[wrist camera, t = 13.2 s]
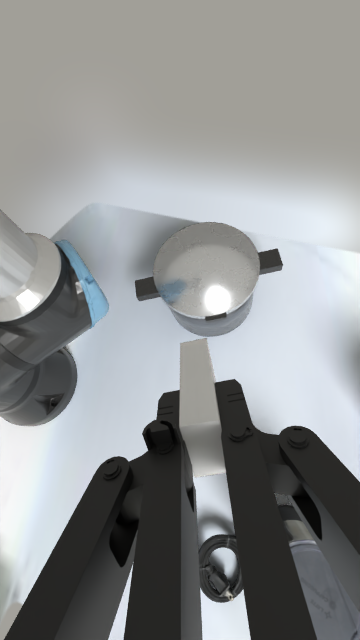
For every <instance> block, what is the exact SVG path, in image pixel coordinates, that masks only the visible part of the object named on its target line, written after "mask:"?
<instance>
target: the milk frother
mask: <svg viewBox="0 0 360 640" xmlns="http://www.w3.org/2000/svg"><path fill="white" fill-rule="evenodd" d="M278 508H279V512H280V515H281V518H282V522H283V525H284V528H285V532H286V535H287V539H288V542H289V545H290V549H291V552H292V556H293V559H294V562H295V566H296V569H297V572H298V576H299V579H300V583H301V586H302V589H303V593H304V596H305V600H306V603H307V606H308V610H309V613H310V616H311V620H312V623H313V627H314V630H315V633H316V637H317V640H360V613H359V612H358V610H357V608H356V607H355V605H354V603H353V602H352V600H351V599H350V597H349V595H348V594H347V592H346V591H345V589H344V587H343V586H342V584H341V583H340V581H339V579H338V578H337V576H336V575H335V573H334V571H333V570H332V568H331V566H330V565H329V563H328V562H327V560H326V558H325V557H324V555H323V554H322V552H321V550H320V549H319V547H318V546H317V544H316V542H315V541H314V539H313V537H312V536H311V534H310V533H309V531H308V529H307V528H306V526H305V525H304V523H303V521H302V520H301V518H300V517H299V515H298V513H297V512H296V510H295V509H294V507H292V506H288V505H279V506H278ZM222 547H225V548H229V549H231V550H232V551H233V552H234V553H235V554H236V556H237V559H238V564H239V572H238V577H237V580H236V582H235V584H234V585H233V587H232V588H231V589H229V587H230V584H229V582H228V579H227V577H226V575H225V574H221V573H220V572H219V571H218V570H216V568H215V566H211V564H210V563H209V561H208V559H209V556H210V554H211V553H212V552H213V551H214V550H215V549H218V548H222ZM198 554H199V576H200V588H201V590H202V591H203V593H204V594H205V595H206V596H207V597H208V598H209V599H211V600H212V601H215V602H220V603H222V602H228V601H233V600H234V598H235V597H237V596H238V594H240V592H241V591H242V590H243V582H242V576H241V569H240V562H239V555H238V549H237V542H236V536H235V535H224V534H220V535H215V536H212V537H210V538H209V539H207V540H206V541H205V542H204V543H203V544H202V546H201V548H200V549H199V552H198ZM207 576H208V577H207ZM208 579H209V580H210V581H212V582H213V584H214V586H215V588H216V589H214V588H213V587H212V586H211V585H210V583H209V581H208Z"/></svg>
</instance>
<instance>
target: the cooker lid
mask: <svg viewBox="0 0 360 640" xmlns="http://www.w3.org/2000/svg"><path fill="white" fill-rule="evenodd" d="M259 271H260V260H259V256H258V252H257V250H256V248H255V246H254V244H253V243H252V241H251V240H250V239H249V238H248V237H247V236H246V235H245V234H244V233H243V232H241V231H240V230H238V229H236V228H234V227H232V226H229V225H226V224H223V223H216V222H204V223H198V224H194V225H190V226H188V227H185V228H183V229H181V230H179V231H178V232H176V233H175V234H173V235H172V236H171V237H170V238H169V239H167V241H166V242H165V243H164V244H163V245H162V247H161V248H160V250H159V252H158V254H157V256H156V259H155V262H154V268H153V277H154V282H155V286H156V288H157V290H158V292H159V294H160V296H161V298H162V299H163V300H164V302H165V303H166V304H167V305H168V306H169V307H170V308H172V309H173V310H174V311H176V312H178V313H180V314H182V315H185V316H187V317H191V318H197V319H206V323H210V322H215V321H219V320H224V319H227V314H229V313H231V312H233V311H234V310H236V309H237V308H239V307H240V306H242V305H243V304H244V303H245V302H246V301H247V300H248V298H249V297H250V296H251V295H252V293H253V291H254V289H255V287H256V285H257V282H258V278H259Z"/></svg>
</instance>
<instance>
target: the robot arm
mask: <svg viewBox="0 0 360 640" xmlns="http://www.w3.org/2000/svg"><path fill="white" fill-rule="evenodd" d="M108 310H109V304H108V301H107V299H106V297H105V295H104V294H103V292H102V290H101V289H100V287H99V286H98V284H97V282H96V281H95V279H94V278H93V277H92V275H91V273H90V272H89V270H88V268H87V267H86V265H85V264H84V262H83V261H82V259H81V258H80V256H79V255H78V253H77V252H76V250H75V249H74V248H73V246H72V245H71V244H70V242H69V241H67V240H61V241H57V242H56V243H53V242H52V241H51V240H49V239H48V238H47V237H45V236H43V235H40V234H35V233H24V232H23V231H22V230H21V229H20V228H19V227H17V225H16V224H15V223H14V222H13V221H12V220H11V219H10V218H9V217H7V216H6V214H4V213H3V212H2V211H1V210H0V417H2V418H4V419H5V420H6V421H8V422H10V423H12V424H16V425H20V426H37V425H41V424H44V423H47V422H49V421H51V420H52V419H54V418H55V417H57V416H58V415H59V414H60V413H61V412H62V411H63V410H64V409H65V408H66V406H67V405H68V403H69V402H70V400H71V398H72V396H73V394H74V391H75V388H76V382H77V370H76V365H75V362H74V360H73V358H72V356H71V355H70V354H69V352H68V351H67V350H65V349H64V348H63V347H64V346H66V345H67V344H68V343H70V342H71V341H73V340H74V339H75V338H77V337H78V336H80V335H81V334H83V333H84V332H85V331H87V330H88V329H91V328H92V327H93V326H94V325H95V323H96V322H98V321H99V320H100V319H101V318H103V317H104V316H105V315H106V314H107V312H108ZM142 435H143V437H144V440H145V443H146V445H147V448H148V451H147V452H146V453H145V454H144V455H142V456H140V457H138V458H136V459H134V460H132V461H129V462H128V460H127V459H126V458H124V457H120V456H118V457H112V458H110V459H108V460H106V461H105V462H104V463H102V464H101V465H100V467H99V468H98V469H97V471H96V473H95V474H94V476H93V478H92V480H91V482H90V483H89V485H88V487H87V489H86V491H85V493H84V494H83V496H82V498H81V500H80V502H79V504H78V505H77V507H76V509H75V511H74V513H73V515H72V516H71V518H70V520H69V522H68V524H67V526H66V527H65V529H64V531H63V533H62V535H61V537H60V538H59V540H58V542H57V544H56V546H55V547H54V549H53V551H52V553H51V555H50V557H49V558H48V560H47V562H46V564H45V566H44V568H43V569H42V571H41V573H40V575H39V577H38V579H37V580H36V582H35V584H34V586H33V588H32V590H31V591H30V593H29V595H28V597H27V599H26V601H25V602H24V604H23V606H22V608H21V610H20V611H19V613H18V615H17V617H16V619H15V621H14V623H13V624H12V626H11V628H10V630H9V632H8V633H7V636H6V637H5V639H4V640H108V638H109V635H110V631H111V628H112V625H113V622H114V619H115V616H116V613H117V610H118V607H119V604H120V601H121V598H122V595H123V592H124V589H125V586H126V583H127V580H128V577H129V573H130V570H131V567H132V564H133V571H132V579H131V586H130V594H129V602H128V610H127V618H126V625H125V633H124V640H202V620H201V598H200V576H199V554H198V532H197V510H196V490H195V486H194V483H193V474H194V477H195V478H196V477H202V476H209V475H215V474H221V473H226V475H227V482H228V488H229V495H230V502H231V508H232V515H233V522H234V529H235V535H236V542H237V549H238V555H239V562H240V569H241V576H242V582H243V589H244V596H245V602H246V609H247V616H248V623H249V629H250V636H251V640H317V637H316V633H315V630H314V627H313V623H312V620H311V616H310V613H309V610H308V606H307V603H306V600H305V596H304V593H303V589H302V586H301V583H300V579H299V576H298V572H297V569H296V566H295V562H294V559H293V556H292V552H291V549H290V545H289V542H288V539H287V535H286V532H285V528H284V525H283V522H282V518H281V515H280V512H279V508H278V505H277V501H276V498H275V495H274V493H278V494H284V495H287V497H288V499H289V500H290V502H291V504H292V505H293V507H294V509H295V510H296V512H297V513H298V515H299V517H300V518H301V520H302V521H303V523H304V525H305V526H306V528H307V529H308V531H309V533H310V534H311V536H312V537H313V539H314V541H315V542H316V544H317V546H318V547H319V549H320V550H321V552H322V554H323V555H324V557H325V558H326V560H327V562H328V563H329V565H330V566H331V568H332V570H333V571H334V573H335V575H336V576H337V578H338V579H339V581H340V583H341V584H342V586H343V587H344V589H345V591H346V592H347V594H348V595H349V597H350V599H351V600H352V602H353V603H354V605H355V607H356V608H357V610H358V612H359V613H360V482H359V481H358V480H357V479H356V478H355V476H354V475H353V474H352V473H351V472H350V471H349V470H348V469H347V468H346V467H345V466H344V464H343V463H342V462H341V461H340V460H339V459H338V458H337V457H336V456H335V455H334V454H333V452H332V451H331V450H330V449H329V448H328V447H327V446H326V445H325V444H324V443H323V442H322V440H321V439H320V438H319V437H318V436H317V435H316V434H315V433H314V432H313V431H311V430H310V429H308V428H305V427H302V426H291V427H287V428H285V429H284V430H282V431H281V433H280V434H279V435H273V434H267V433H264V432H261V431H259V430H258V429H256V428H255V426H254V425H253V423H252V421H251V418H250V414H249V411H248V407H247V404H246V401H245V397H244V394H243V390H242V387H241V384H239V383H238V382H237V381H236V380H235V379H232V380H227V381H222V382H216V380H215V375H214V370H213V366H212V361H211V357H210V352H209V348H208V343H207V339H206V338H204V339H199V340H194V341H189V342H184V343H180V390H177V391H172V392H167V393H163V395H162V396H161V398H160V399H159V402H158V411H157V420H154V421H152V422H151V423H149V424H148V425H147V426H146V427H145V428H144V431H143V433H142ZM133 561H134V563H133Z"/></svg>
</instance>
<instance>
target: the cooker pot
mask: <svg viewBox="0 0 360 640" xmlns="http://www.w3.org/2000/svg"><path fill="white" fill-rule="evenodd" d="M258 256H259V260H260V271H259V275H262V274H266V273H271V272H275V271H280V270H282V266H283V264H282V261H281V258H280V255H279V252H278V249H273V250H268V251H264V252H259V253H258ZM135 287H136V296H137V298H138V300H139V301H143V300H148V299H152V298H157V297H161V296H160V294H159V292H158V290H157V288H156V286H155V282H154V277H149V278H145V279H140V280H136V281H135ZM252 298H253V293H252V295H251V296H250V297H249V298H248V300H247V301H246V302H245V303H244V304H243V305H242V306H240V307H239V308H237V309H236V310H234V311H233V312H231V313H229V314H227V319H224V320H219V321H215V322H210V323H206V319H197V318H191V317H187V316H185V315H182V314H180V313H178V312H176V311H174V310H173V309H172V308H170V309H171V311H172V312H173V314H174V316H175V318H176V320H177V321H178V322H179V324H180V325H181V326H182V327H184V328H185V329H186V330H188V331H190V332H192V333H194V334H197V335H200V336H207V337H209V336H219V335H223V334H226V333H228V332H230V331H232V330H234V329H235V328H237V327H238V326H239V325H240V324H241V323H242V322H243V321H244V320H245V319H246V317H247V315H248V314H249V311H250V309H251V305H252Z"/></svg>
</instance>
